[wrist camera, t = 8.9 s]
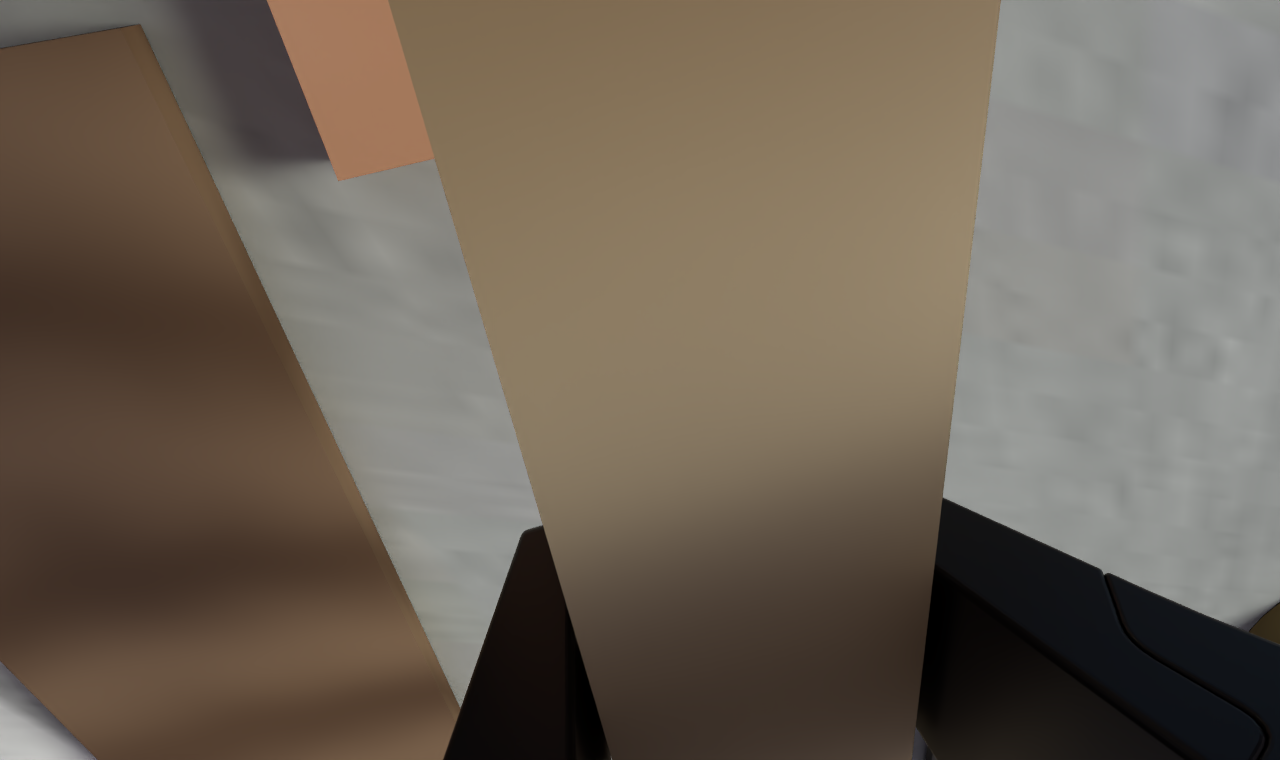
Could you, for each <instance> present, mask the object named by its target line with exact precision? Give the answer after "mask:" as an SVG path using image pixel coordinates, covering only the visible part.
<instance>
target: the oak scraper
mask: <svg viewBox="0 0 1280 760" xmlns="http://www.w3.org/2000/svg"><path fill="white" fill-rule="evenodd" d="M388 2H389V5H390V9H391V12H392V16H393V19H394V22H395V26H396V29H397V32H398V36H399V39H400V43H401V46H402V49H403V53H404V56H405V60H406V63H407V66H408V70H409V73H410V76H411V80H412V83H413V87H414V90H415V93H416V97H417V100H418V104H419V107H420V110H421V114H422V117H423V120H424V124H425V127H426V131H427V134H428V137H429V141H430V144H431V148H432V151H433V154H434V158H435V161H436V165H437V168H438V171H439V175H440V178H441V181H442V185H443V188H444V192H445V195H446V198H447V202H448V205H449V209H450V212H451V215H452V219H453V222H454V225H455V229H456V232H457V236H458V239H459V242H460V246H461V249H462V253H463V256H464V259H465V263H466V266H467V269H468V273H469V276H470V280H471V283H472V286H473V290H474V293H475V297H476V300H477V303H478V307H479V310H480V314H481V317H482V320H483V324H484V327H485V330H486V334H487V337H488V341H489V344H490V347H491V351H492V354H493V358H494V361H495V364H496V368H497V371H498V374H499V378H500V381H501V385H502V388H503V391H504V395H505V398H506V402H507V405H508V408H509V412H510V415H511V418H512V422H513V425H514V429H515V432H516V435H517V439H518V442H519V446H520V449H521V452H522V456H523V459H524V462H525V466H526V469H527V473H528V476H529V479H530V483H531V486H532V490H533V493H534V496H535V500H536V503H537V507H538V510H539V513H540V517H541V520H542V523H543V527H544V530H545V534H546V537H547V540H548V544H549V547H550V551H551V554H552V557H553V561H554V564H555V567H556V571H557V574H558V578H559V581H560V584H561V588H562V591H563V595H564V598H565V601H566V605H567V608H568V611H569V615H570V618H571V622H572V625H573V628H574V632H575V635H576V639H577V642H578V645H579V649H580V652H581V656H582V659H583V662H584V666H585V669H586V672H587V676H588V679H589V683H590V686H591V689H592V693H593V696H594V700H595V703H596V706H597V710H598V713H599V716H600V720H601V723H602V727H603V730H604V733H605V737H606V740H607V744H608V747H609V750H610V754H611V757H612V760H912V753H913V745H914V736H915V727H916V719H917V710H918V702H919V693H920V685H921V676H922V668H923V659H924V651H925V642H926V634H927V625H928V617H929V608H930V600H931V591H932V582H933V574H934V565H935V557H936V548H937V540H938V531H939V523H940V514H941V506H942V497H943V489H944V480H945V472H946V463H947V455H948V446H949V438H950V429H951V420H952V412H953V403H954V395H955V386H956V378H957V369H958V361H959V352H960V344H961V335H962V327H963V318H964V310H965V301H966V293H967V284H968V275H969V267H970V258H971V250H972V241H973V233H974V224H975V216H976V207H977V199H978V190H979V182H980V173H981V165H982V156H983V148H984V139H985V131H986V122H987V113H988V105H989V96H990V88H991V79H992V71H993V62H994V54H995V45H996V37H997V28H998V20H999V11H1000V3H1001V0H388Z"/></svg>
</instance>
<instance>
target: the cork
mask: <svg viewBox="0 0 1280 760" xmlns="http://www.w3.org/2000/svg"><path fill="white" fill-rule="evenodd" d="M1249 633H1252V634H1254V635H1257V636H1260V637H1262V638H1265V639H1267V640H1270V641H1272V642H1275V643H1277V644H1280V603H1279V604H1278V605H1277V606H1275V607H1274V608H1273V609H1272V610H1270V611H1269V612H1268V613H1267V614H1265V615H1264V616H1263V617H1262V618H1261V619H1260V620H1259V621H1258V622H1257V623H1256V625H1255V626H1254V627H1253V628H1252V629H1251V630H1250V631H1249Z"/></svg>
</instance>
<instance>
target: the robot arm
mask: <svg viewBox="0 0 1280 760" xmlns="http://www.w3.org/2000/svg"><path fill="white" fill-rule="evenodd" d="M916 728H917V730H918V731H919V733H920V734H921V736H922V737H923V739H924V741H925V742H926V744H927V745H928V746H927V754H926V760H1280V644H1277V643H1275V642H1272V641H1270V640H1267V639H1265V638H1262V637H1260V636H1257V635H1254V634H1252V633H1249V632H1247V631H1244V630H1242V629H1239V628H1237V627H1234V626H1232V625H1229V624H1227V623H1224V622H1221V621H1219V620H1216V619H1214V618H1211V617H1209V616H1206V615H1204V614H1202V613H1199V612H1197V611H1195V610H1192V609H1190V608H1188V607H1185V606H1183V605H1181V604H1178V603H1176V602H1174V601H1172V600H1169V599H1167V598H1165V597H1162V596H1160V595H1158V594H1155V593H1153V592H1151V591H1148V590H1146V589H1144V588H1142V587H1139V586H1137V585H1135V584H1133V583H1131V582H1128V581H1126V580H1124V579H1122V578H1120V577H1117V576H1115V575H1113V574H1111V573H1107V574H1105V575H1104V574H1103V572H1102V570H1101V569H1099V568H1097V567H1095V566H1093V565H1090V564H1088V563H1086V562H1084V561H1082V560H1079V559H1077V558H1075V557H1073V556H1071V555H1068V554H1066V553H1064V552H1062V551H1060V550H1057V549H1055V548H1053V547H1051V546H1049V545H1046V544H1044V543H1042V542H1040V541H1038V540H1035V539H1033V538H1031V537H1029V536H1026V535H1024V534H1022V533H1020V532H1018V531H1015V530H1013V529H1011V528H1009V527H1007V526H1004V525H1002V524H1000V523H998V522H996V521H993V520H991V519H989V518H987V517H985V516H982V515H980V514H978V513H976V512H974V511H971V510H969V509H967V508H965V507H963V506H960V505H958V504H956V503H954V502H952V501H949V500H947V499H945V498H943V497H942V506H941V514H940V523H939V531H938V540H937V548H936V557H935V565H934V574H933V582H932V591H931V600H930V608H929V617H928V625H927V634H926V642H925V651H924V659H923V668H922V676H921V685H920V693H919V702H918V710H917V719H916ZM443 760H611V754H610V750H609V747H608V744H607V740H606V737H605V733H604V730H603V727H602V723H601V720H600V716H599V713H598V710H597V706H596V703H595V700H594V696H593V693H592V689H591V686H590V683H589V679H588V676H587V672H586V669H585V666H584V662H583V659H582V656H581V652H580V649H579V645H578V642H577V639H576V635H575V632H574V628H573V625H572V622H571V618H570V615H569V611H568V608H567V605H566V601H565V598H564V595H563V591H562V588H561V584H560V581H559V578H558V574H557V571H556V567H555V564H554V561H553V557H552V554H551V551H550V547H549V544H548V540H547V537H546V534H545V530H544V527H543V525H542V526H538V527H535V528H531V529H528V530H526V531H524V532H523V533H522V535H521V537H520V540H519V543H518V546H517V549H516V551H515V554H514V557H513V560H512V563H511V566H510V569H509V572H508V574H507V577H506V580H505V583H504V586H503V589H502V592H501V594H500V597H499V600H498V603H497V606H496V609H495V612H494V615H493V617H492V620H491V623H490V626H489V629H488V632H487V635H486V637H485V640H484V643H483V646H482V649H481V652H480V655H479V658H478V660H477V663H476V666H475V669H474V672H473V675H472V678H471V680H470V683H469V686H468V689H467V692H466V695H465V698H464V701H463V703H462V706H461V709H460V712H459V715H458V718H457V721H456V723H455V726H454V729H453V732H452V735H451V738H450V741H449V744H448V746H447V749H446V752H445V755H444V758H443Z"/></svg>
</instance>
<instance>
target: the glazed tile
mask: <svg viewBox="0 0 1280 760" xmlns="http://www.w3.org/2000/svg"><path fill="white" fill-rule="evenodd" d="M267 2H268V4H269V7H270V9H271V12H272V15H273V17H274V20H275V22H276V25H277V27H278V30H279V32H280V35H281V37H282V40H283V42H284V45H285V47H286V50H287V52H288V55H289V57H290V60H291V63H292V65H293V68H294V70H295V73H296V75H297V78H298V80H299V83H300V85H301V88H302V90H303V93H304V95H305V98H306V100H307V103H308V105H309V108H310V111H311V113H312V116H313V118H314V121H315V123H316V126H317V128H318V131H319V133H320V136H321V138H322V141H323V143H324V146H325V148H326V151H327V153H328V156H329V159H330V161H331V164H332V166H333V169H334V171H335V174H336V176H337V179H338V181H341V180H345V179H349V178H353V177H358V176H362V175H366V174H371V173H375V172H379V171H383V170H388V169H392V168H396V167H400V166H405V165H409V164H413V163H417V162H422V161H426V160H430V159H435V158H434V154H433V151H432V148H431V144H430V141H429V137H428V134H427V131H426V127H425V124H424V120H423V117H422V114H421V110H420V107H419V104H418V100H417V97H416V93H415V90H414V87H413V83H412V80H411V76H410V73H409V70H408V66H407V63H406V60H405V56H404V53H403V49H402V46H401V43H400V39H399V36H398V32H397V29H396V26H395V22H394V19H393V16H392V12H391V9H390V5H389V2H388V0H267Z"/></svg>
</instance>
